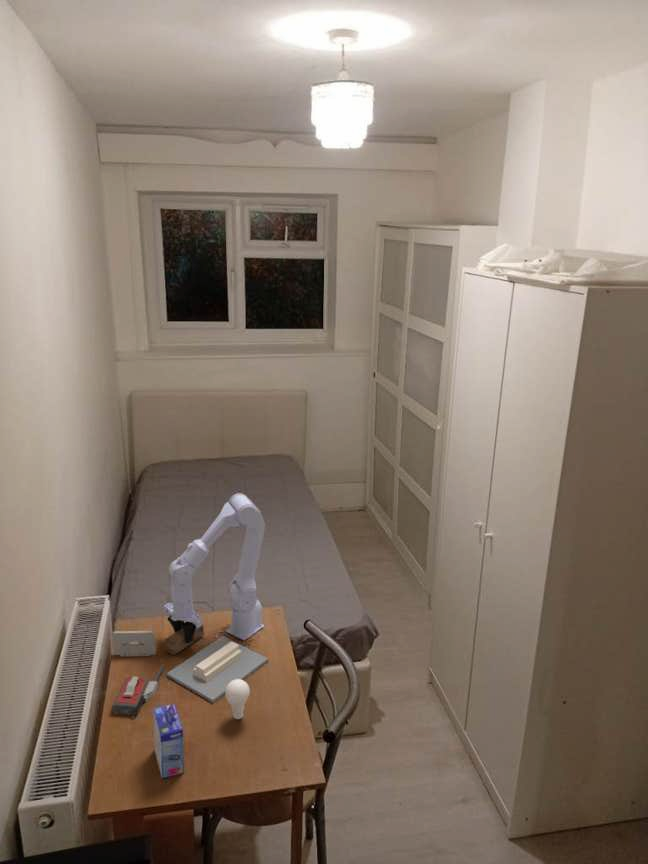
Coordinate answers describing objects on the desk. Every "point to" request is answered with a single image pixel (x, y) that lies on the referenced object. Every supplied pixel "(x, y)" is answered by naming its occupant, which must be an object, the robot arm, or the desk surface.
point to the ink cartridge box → (168, 740)
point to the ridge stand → (217, 668)
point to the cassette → (134, 649)
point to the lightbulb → (237, 696)
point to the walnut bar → (181, 640)
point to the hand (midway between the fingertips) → (184, 639)
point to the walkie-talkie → (135, 694)
